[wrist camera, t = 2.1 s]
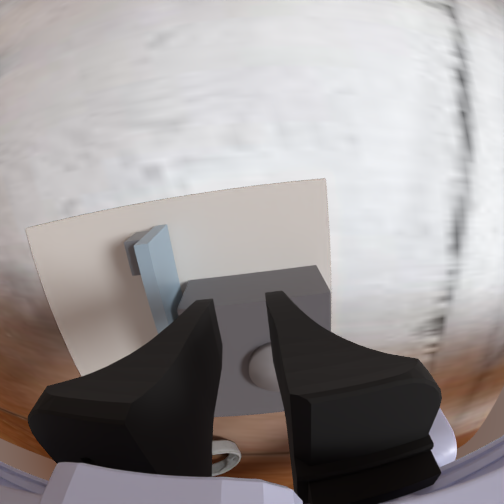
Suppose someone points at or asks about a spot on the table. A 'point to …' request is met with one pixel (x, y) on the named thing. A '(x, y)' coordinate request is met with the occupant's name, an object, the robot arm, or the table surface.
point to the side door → (156, 272)
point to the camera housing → (255, 331)
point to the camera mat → (185, 255)
